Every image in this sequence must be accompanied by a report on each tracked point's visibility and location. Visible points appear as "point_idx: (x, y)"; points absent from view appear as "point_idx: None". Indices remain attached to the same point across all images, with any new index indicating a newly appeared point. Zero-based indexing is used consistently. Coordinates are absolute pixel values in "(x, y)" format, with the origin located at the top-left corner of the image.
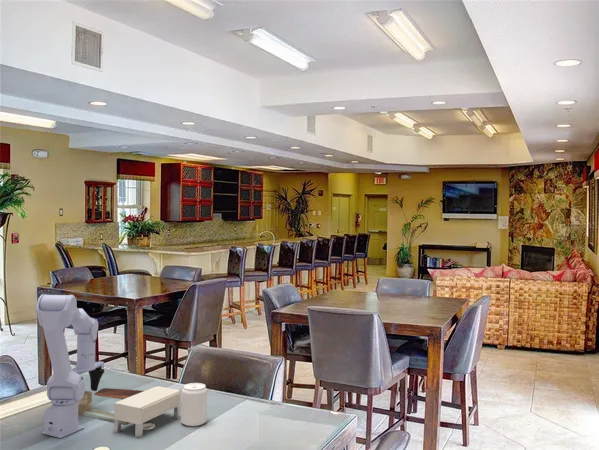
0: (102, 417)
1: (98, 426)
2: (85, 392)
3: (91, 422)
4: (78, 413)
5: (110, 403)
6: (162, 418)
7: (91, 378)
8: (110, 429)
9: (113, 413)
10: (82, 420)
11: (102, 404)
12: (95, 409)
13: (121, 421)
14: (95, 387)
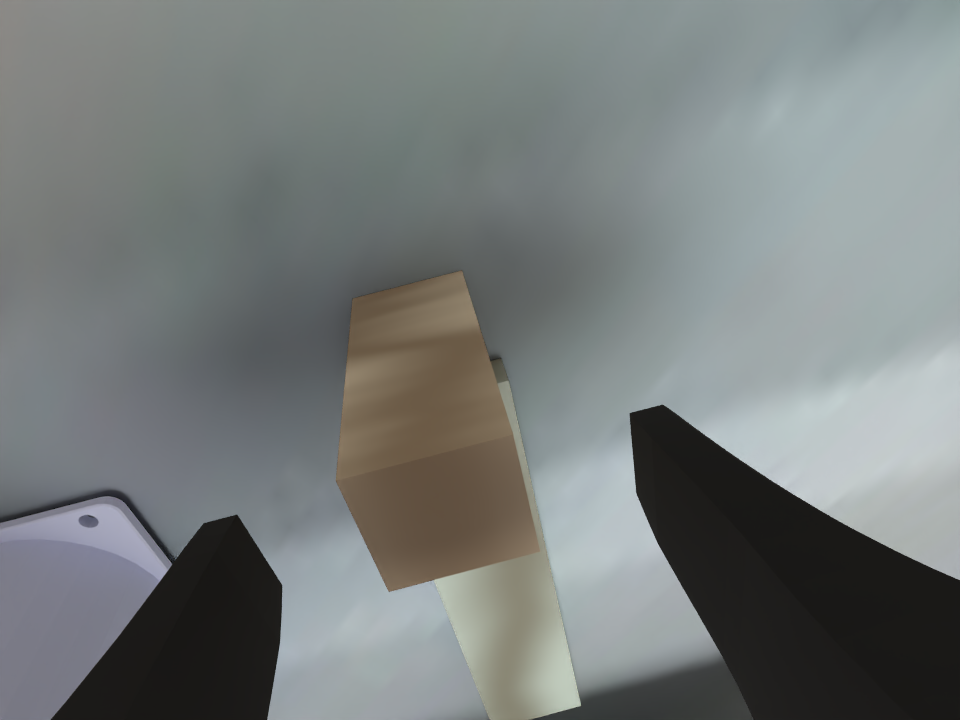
0: (440, 588)
1: (340, 649)
2: (452, 512)
3: (339, 567)
4: (352, 303)
5: (817, 233)
6: (706, 712)
7: (772, 607)
8: (376, 713)
9: (548, 589)
10: (296, 490)
11: (747, 194)
12: (510, 418)
13: (485, 705)
14: (664, 539)
